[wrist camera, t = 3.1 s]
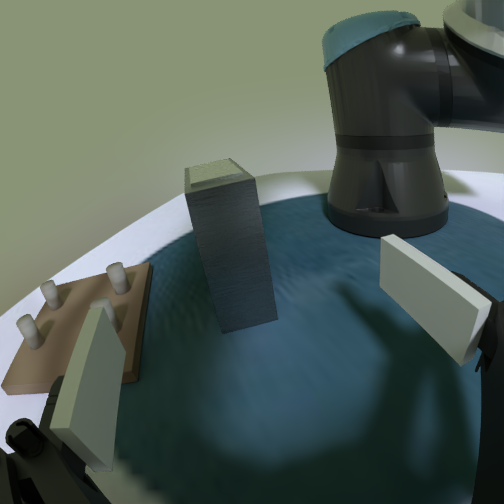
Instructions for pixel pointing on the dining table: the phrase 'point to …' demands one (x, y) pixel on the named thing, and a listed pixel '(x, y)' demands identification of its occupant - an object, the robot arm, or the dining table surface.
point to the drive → (231, 243)
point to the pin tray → (79, 326)
